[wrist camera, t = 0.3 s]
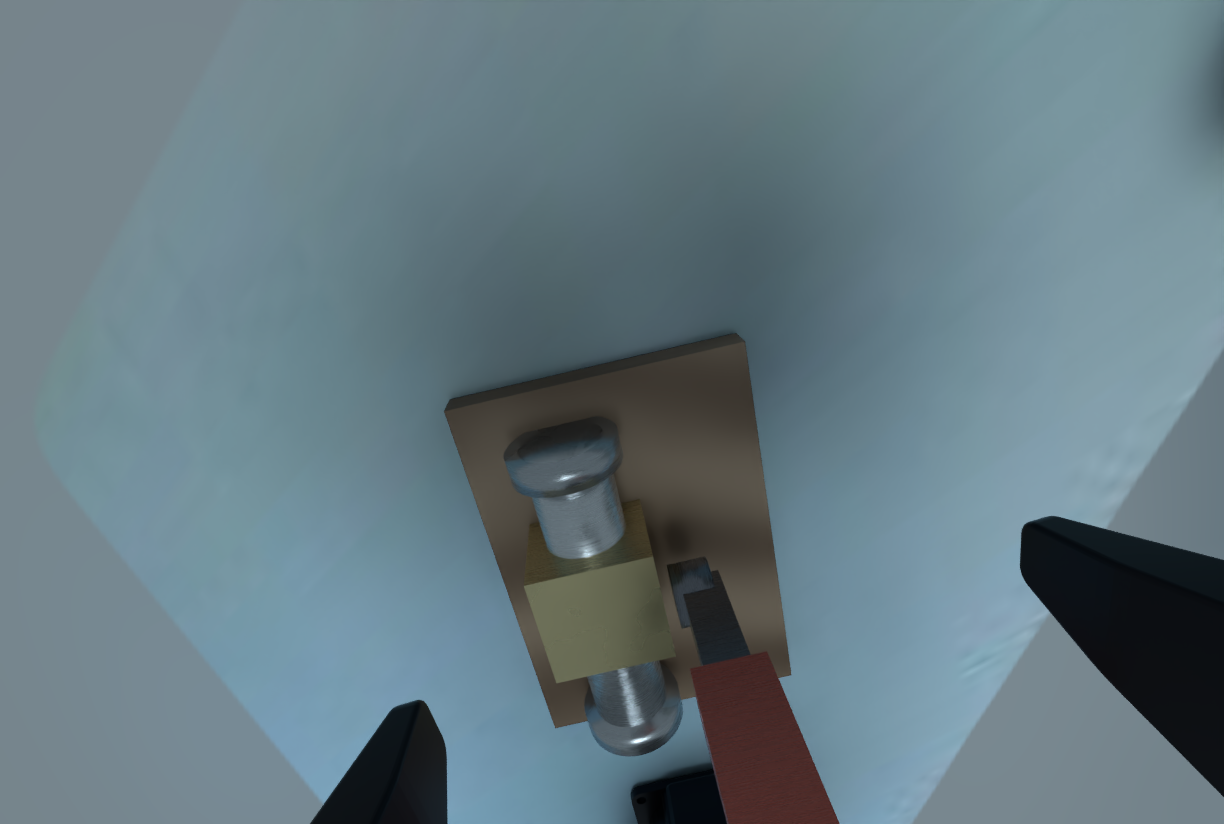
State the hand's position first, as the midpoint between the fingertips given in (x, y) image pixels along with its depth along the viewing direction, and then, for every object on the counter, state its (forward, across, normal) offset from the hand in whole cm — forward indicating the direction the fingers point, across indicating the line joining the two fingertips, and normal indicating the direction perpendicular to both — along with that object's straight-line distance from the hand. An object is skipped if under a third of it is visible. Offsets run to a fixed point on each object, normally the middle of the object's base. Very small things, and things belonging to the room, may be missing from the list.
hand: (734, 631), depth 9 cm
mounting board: (+15, +1, +9) cm, 17 cm away
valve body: (+14, +2, +9) cm, 17 cm away
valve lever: (+11, -1, +8) cm, 14 cm away
